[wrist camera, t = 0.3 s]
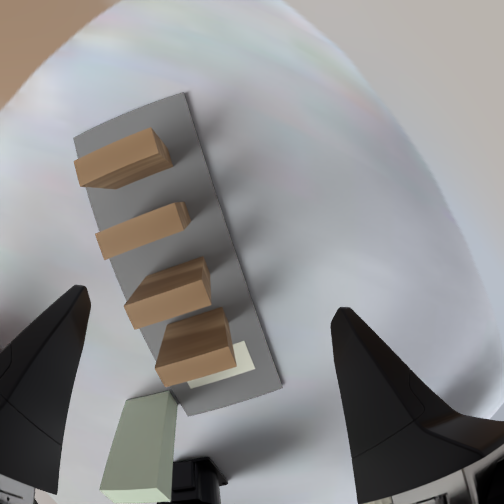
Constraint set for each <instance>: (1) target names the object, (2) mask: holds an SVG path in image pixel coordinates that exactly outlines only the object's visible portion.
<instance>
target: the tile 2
mask: <svg viewBox="0 0 504 504" xmlns="http://www.w3.org/2000/svg"><path fill="white" fill-rule="evenodd" d="M210 305H212V304H211V282H210V273H209V270H208V267H207V264H206V262H205V259H204V256H202V257H199V258H196V259H193V260H190V261H188V262H185V263H182V264H179V265H176V266H173V267H171V268H168V269H165V270H162V271H159V272H156V273H154V274H151V275H148V276H146V277H145V278H144V280H143V281H142V282H141V284H140V285H139V286H138V287H137V289H136V290H135V291H134V293H133V294H132V295H131V297H130V298H129V299H128V301H127V302H126V304H125V305H124V308H125V310H126V313H127V315H128V317H129V319H130V321H131V323H132V325H133V327H134V329H139V328H142V327H145V326H148V325H151V324H155V323H158V322H161V321H164V320H167V319H170V318H173V317H176V316H180V315H183V314H186V313H189V312H192V311H195V310H198V309H201V308H204V307H207V306H210Z"/></svg>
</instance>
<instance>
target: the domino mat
mask: <svg viewBox="0 0 504 504" xmlns="http://www.w3.org/2000/svg"><path fill="white" fill-rule="evenodd" d="M150 127H151V128H152V129H153V130H154V132H155V133H156V134H157V135H158V137H159V138H160V139H161V140H162V142H163V143H164V144H165V146H166V147H167V148H168V151H169V154H170V158H171V161H172V164H173V167H172V168H169V169H166V170H164V171H161V172H158V173H156V174H153V175H150V176H148V177H145V178H143V179H140V180H138V181H135V182H133V183H130V184H128V185H125V186H123V187H121V188H118V189H116V190H115V189H104V188H92V187H86V190H87V193H88V197H89V200H90V204H91V207H92V210H93V213H94V216H95V219H96V222H97V225H98V228H99V231H100V232H101V231H103V230H105V229H108V228H110V227H113V226H115V225H118V224H120V223H123V222H125V221H127V220H130V219H132V218H135V217H138V216H140V215H143V214H145V213H148V212H150V211H153V210H156V209H158V208H161V207H164V206H166V205H169V204H172V203H176V202H185V204H186V207H187V210H188V213H189V216H190V219H191V222H190V223H189V225H188V226H187V227H186V228H185V230H184V231H181V232H178V233H175V234H173V235H170V236H167V237H164V238H162V239H159V240H156V241H154V242H151V243H148V244H145V245H143V246H140V247H138V248H135V249H132V250H130V251H127V252H124V253H122V254H119V255H117V256H114V257H111V258H109V259H110V262H111V264H112V267H113V269H114V272H115V274H116V277H117V279H118V282H119V284H120V286H121V289H122V291H123V294H124V296H125V298H126V300H127V301H128V299H129V298H130V297H131V295H132V294H133V293H134V291H135V290H136V289H137V287H138V286H139V285H140V284H141V282H142V281H143V280H144V278H145V277H146V276H148V275H151V274H154V273H156V272H159V271H162V270H165V269H168V268H171V267H173V266H176V265H179V264H182V263H185V262H188V261H190V260H193V259H196V258H199V257H202V256H204V259H205V262H206V264H207V267H208V270H209V273H210V282H211V304H212V305H210V306H207V307H204V308H201V309H198V310H195V311H192V312H189V313H186V314H183V315H180V316H176V317H173V318H170V319H167V320H164V321H161V322H158V323H155V324H151V325H148V326H145V327H142V328H139V329H140V331H141V333H142V335H143V337H144V339H145V341H146V343H147V345H148V347H149V349H150V351H151V353H152V355H153V356H154V358H155V360H156V362H157V358H158V354H159V351H160V347H161V344H162V340H163V337H164V333H165V330H166V326H167V324H171V323H174V322H177V321H180V320H183V319H186V318H189V317H192V316H195V315H198V314H201V313H204V312H207V311H210V310H213V309H216V308H219V307H223V310H224V312H225V315H226V318H227V320H228V323H229V328H230V333H231V339H232V344H233V349H234V354H235V359H236V364H237V367H234V368H231V369H228V370H224V371H221V372H218V373H215V374H211V375H208V376H205V377H201V378H198V379H194V380H191V381H187V382H183V383H180V384H176V385H172V386H170V387H171V389H172V391H173V392H174V394H175V396H176V398H177V399H178V401H179V403H180V404H181V406H182V407H183V409H184V411H185V412H186V414H187V415H188V416H192V415H196V414H200V413H204V412H208V411H212V410H215V409H219V408H223V407H226V406H229V405H233V404H236V403H239V402H243V401H246V400H249V399H252V398H255V397H258V396H261V395H264V394H267V393H270V392H273V391H275V390H278V389H281V388H283V387H282V384H281V381H280V378H279V376H278V373H277V370H276V367H275V364H274V362H273V359H272V356H271V353H270V350H269V348H268V345H267V342H266V339H265V336H264V333H263V330H262V328H261V325H260V322H259V319H258V316H257V313H256V310H255V308H254V305H253V302H252V299H251V296H250V293H249V290H248V287H247V284H246V281H245V278H244V276H243V273H242V270H241V267H240V264H239V261H238V258H237V255H236V252H235V249H234V246H233V243H232V240H231V237H230V234H229V231H228V228H227V225H226V222H225V219H224V216H223V213H222V210H221V207H220V204H219V201H218V198H217V195H216V192H215V189H214V186H213V183H212V180H211V177H210V174H209V171H208V167H207V164H206V161H205V158H204V155H203V152H202V149H201V146H200V143H199V139H198V136H197V133H196V130H195V127H194V124H193V121H192V117H191V114H190V111H189V108H188V105H187V102H186V98H185V95H184V92H183V93H180V94H177V95H174V96H171V97H168V98H165V99H162V100H159V101H157V102H154V103H151V104H148V105H146V106H143V107H141V108H138V109H135V110H133V111H131V112H128V113H126V114H123V115H121V116H119V117H116V118H114V119H112V120H110V121H107V122H105V123H103V124H101V125H99V126H96V127H94V128H92V129H90V130H88V131H86V132H84V133H82V134H80V135H78V136H76V137H74V143H75V147H76V152H77V156H78V159H79V158H81V157H83V156H85V155H87V154H89V153H92V152H94V151H96V150H98V149H100V148H102V147H104V146H107V145H109V144H111V143H113V142H116V141H118V140H120V139H123V138H125V137H127V136H130V135H132V134H135V133H137V132H140V131H142V130H145V129H147V128H150Z"/></svg>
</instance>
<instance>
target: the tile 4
mask: <svg viewBox="0 0 504 504" xmlns="http://www.w3.org/2000/svg"><path fill="white" fill-rule="evenodd" d="M177 406H178V405H177V403H176V402H175V400H174V398H173V397H172V395H171V393H170V392H169V391H165V392H161V393H157V394H153V395H149V396H144V397H140V398H135V399H130V400H126V402H125V405H124V408H123V411H122V414H121V417H120V421H119V424H118V427H117V430H116V433H115V436H114V440H113V443H112V446H111V450H110V453H109V456H108V460H107V463H106V467H105V471H104V474H103V478H102V482H101V485H100V489H99V490H100V491H101V492H102V493H103V494H104V495H105V496H106V497H108V498H109V499H110V500H111V501H112V502H114V503H152V502H166V501H171V488H172V469H173V454H174V440H175V428H176V417H177Z"/></svg>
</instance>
